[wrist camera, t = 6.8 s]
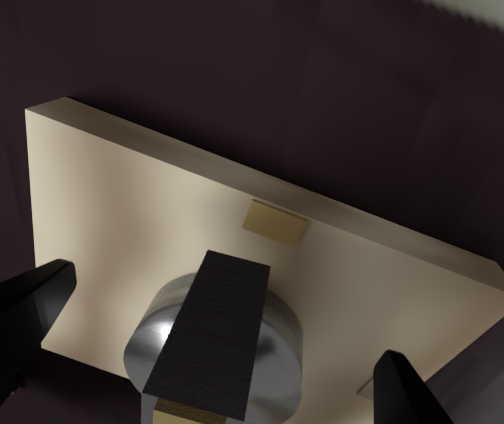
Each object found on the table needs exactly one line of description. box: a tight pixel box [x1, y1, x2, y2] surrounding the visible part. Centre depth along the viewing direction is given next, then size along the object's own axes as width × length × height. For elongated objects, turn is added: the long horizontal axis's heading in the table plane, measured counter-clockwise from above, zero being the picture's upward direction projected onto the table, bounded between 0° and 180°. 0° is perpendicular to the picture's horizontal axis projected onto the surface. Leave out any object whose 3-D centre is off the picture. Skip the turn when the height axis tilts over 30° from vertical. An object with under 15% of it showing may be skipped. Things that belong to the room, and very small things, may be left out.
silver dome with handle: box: [123, 250, 303, 424], centre depth 11 cm, size 13×7×7 cm, turn 169°
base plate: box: [25, 97, 504, 424], centre depth 15 cm, size 18×14×2 cm
